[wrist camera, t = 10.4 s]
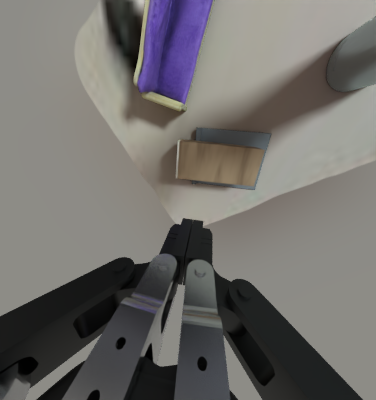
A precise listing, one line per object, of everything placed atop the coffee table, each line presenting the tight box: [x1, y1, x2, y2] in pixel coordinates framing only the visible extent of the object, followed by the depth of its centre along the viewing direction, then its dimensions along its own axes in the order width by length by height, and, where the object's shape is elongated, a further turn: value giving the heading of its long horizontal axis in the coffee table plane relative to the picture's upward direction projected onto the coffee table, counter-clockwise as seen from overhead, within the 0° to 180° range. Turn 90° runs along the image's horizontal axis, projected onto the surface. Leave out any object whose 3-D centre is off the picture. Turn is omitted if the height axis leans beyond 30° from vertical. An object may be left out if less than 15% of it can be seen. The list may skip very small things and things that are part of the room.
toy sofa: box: [133, 0, 215, 111], centre depth 26 cm, size 21×9×10 cm, turn 161°
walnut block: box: [176, 139, 265, 186], centre depth 34 cm, size 6×8×18 cm
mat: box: [192, 128, 271, 190], centre depth 37 cm, size 17×14×2 cm
